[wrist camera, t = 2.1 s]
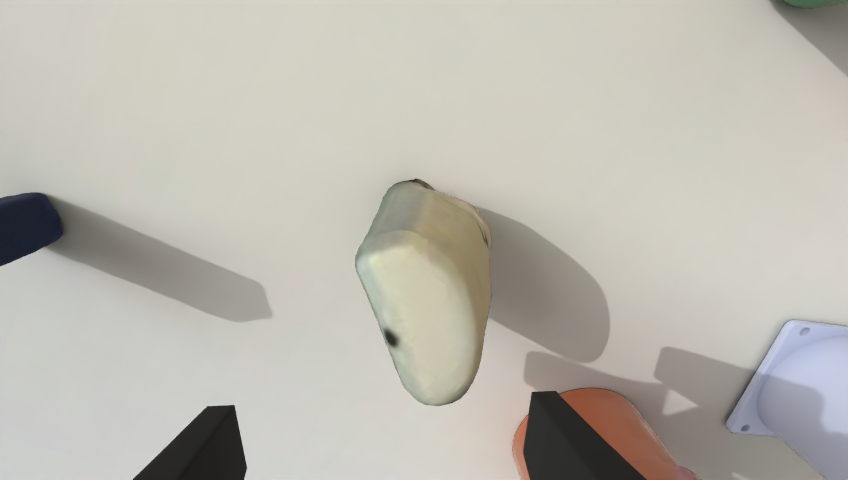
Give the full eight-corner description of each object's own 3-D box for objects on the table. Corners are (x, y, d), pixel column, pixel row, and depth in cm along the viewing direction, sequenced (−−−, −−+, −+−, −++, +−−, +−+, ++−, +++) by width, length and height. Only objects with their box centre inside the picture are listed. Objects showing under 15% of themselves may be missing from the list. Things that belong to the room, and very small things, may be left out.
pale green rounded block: (332, 234, 18) (290, 341, 10) (402, 143, 16) (413, 189, 9) (429, 300, 19) (454, 433, 12) (500, 221, 18) (576, 314, 11)
